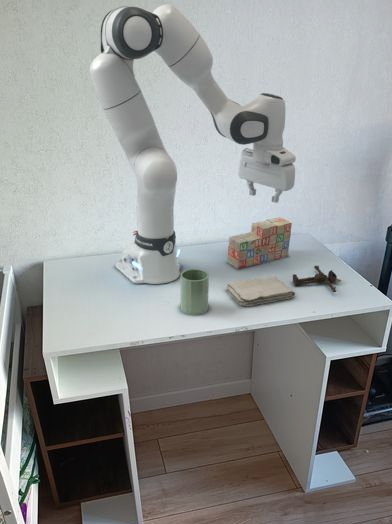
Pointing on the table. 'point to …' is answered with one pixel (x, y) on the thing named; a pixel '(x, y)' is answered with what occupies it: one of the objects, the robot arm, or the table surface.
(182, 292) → the pencil cup
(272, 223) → the stack of blocks
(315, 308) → the table surface
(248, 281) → the washcloth
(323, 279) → the brown toy monkey
